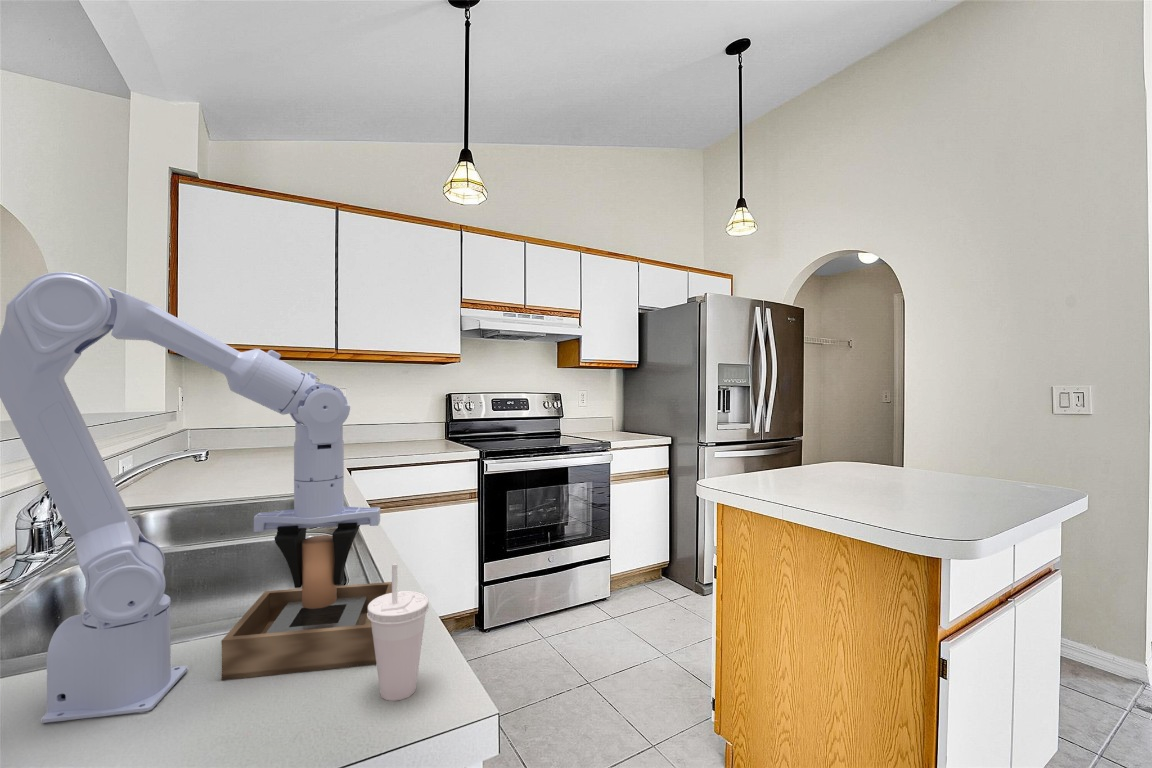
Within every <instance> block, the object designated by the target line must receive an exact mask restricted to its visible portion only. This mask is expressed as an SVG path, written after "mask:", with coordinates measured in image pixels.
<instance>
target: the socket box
mask: <svg viewBox="0 0 1152 768" xmlns="http://www.w3.org/2000/svg"><path fill="white" fill-rule="evenodd" d="M388 593H392V581H385V582H371V583H359V584H346V585H344V584H343V585H337V599H338V598H351V597H364V596H367V613H368V605H369V603H370V602H371V601H372V600H374V599H375V598H377V597H379V596H382V595H385V594H388ZM299 601H302V588H292V589H291V588H290V589H289V588H287V589H276V590H265V591H264V592H263V593H262V594H261V595H260V596H259V597H258V598H257V600H256V601H255V602H254V604H252V605H251V607H249V609H248V610H247V611H246V612H245V613H244V615H243V616H242V617H241V618H240V619H239V620H238V621H237V623H236V624H235V625H234V626H233V627H232V628H231V629H230V630H229V632H228V633H227V634H226V635H225V636H224V637H223V638H222V639H221V681H228V680H229V681H230V680H238V679H247V678H248V679H249V678H258V677H259V678H260V677H266V676H277V675H286V674H295V673H305V672H315V671H316V672H317V671H325V670H333V669H334V670H335V669H345V668H354V667H364V666H371V665H373V666H374V665H377V664H376V656H375V649H374V641H373V634H372V626H371V621H370V620H369V619H368V617H367V618H366V621H365V624H364V625H356V626H345V627H334V628H322V629H311V630H300V631H288V632H277V633H266V632H267V631H268V629H269V628H270V627H271V625H272V624H273V623H274V621H275V620H276V619H277V617H278V616H279V615H280V613H281V612H282V610H283V609H284V608H285V606H286V605H287V604H288V602H299Z"/></svg>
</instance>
